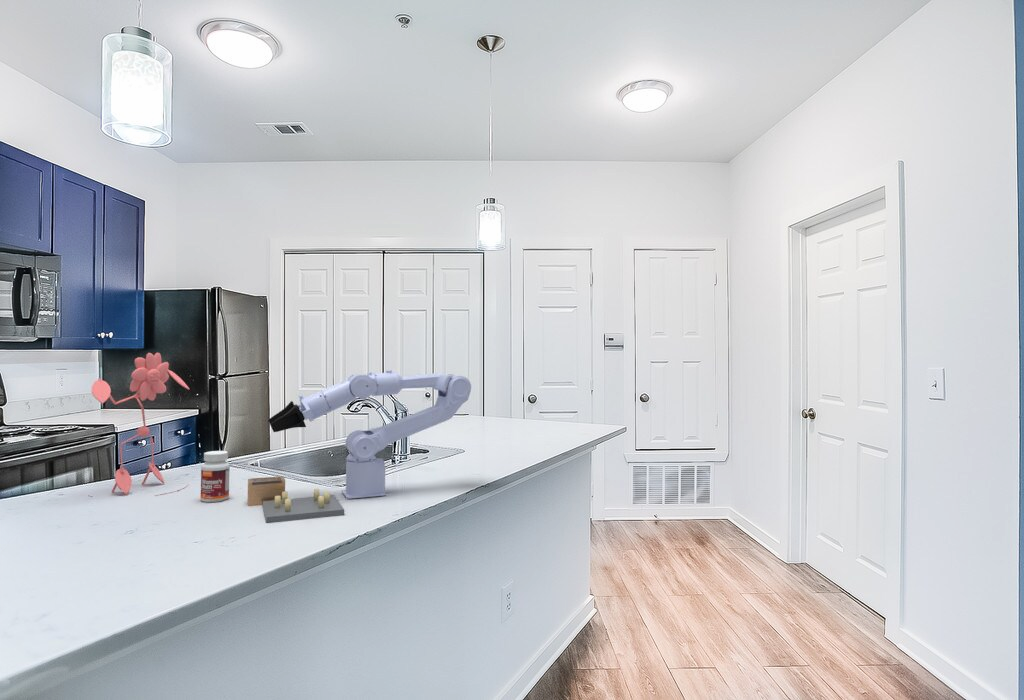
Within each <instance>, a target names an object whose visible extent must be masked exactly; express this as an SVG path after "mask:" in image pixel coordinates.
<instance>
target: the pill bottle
mask: <svg viewBox="0 0 1024 700" xmlns="http://www.w3.org/2000/svg"><path fill="white" fill-rule="evenodd" d="M227 460H229V452H228V451H226V450H211V451H206V452H203V462H204V463H203V464H202V465H201V466H200V500H201V502H205V503H216V502H223V501H226V500H228V499H229V497H230V467H231V466H230V463H229V462H227Z"/></svg>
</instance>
